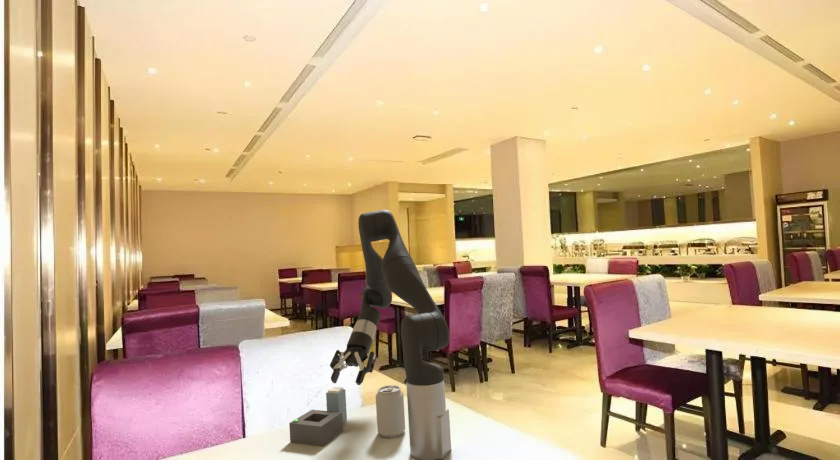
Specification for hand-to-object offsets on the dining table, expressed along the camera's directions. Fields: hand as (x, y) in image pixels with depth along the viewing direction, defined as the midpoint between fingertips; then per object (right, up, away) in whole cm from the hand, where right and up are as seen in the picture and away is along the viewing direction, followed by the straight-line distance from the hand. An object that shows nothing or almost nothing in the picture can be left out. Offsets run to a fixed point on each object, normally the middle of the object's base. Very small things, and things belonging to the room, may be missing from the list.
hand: (345, 382), depth 138 cm
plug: (-1, -10, -5) cm, 11 cm away
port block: (-5, -10, -15) cm, 18 cm away
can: (+15, -9, -15) cm, 23 cm away
